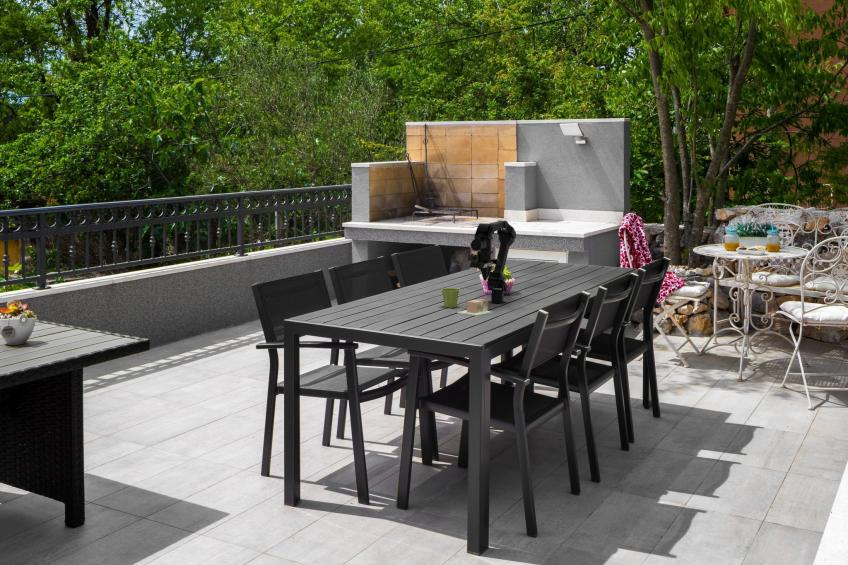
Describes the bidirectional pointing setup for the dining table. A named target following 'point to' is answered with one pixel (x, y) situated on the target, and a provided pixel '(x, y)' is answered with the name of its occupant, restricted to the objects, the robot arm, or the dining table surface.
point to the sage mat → (474, 313)
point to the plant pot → (450, 297)
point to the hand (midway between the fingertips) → (485, 280)
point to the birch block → (477, 305)
